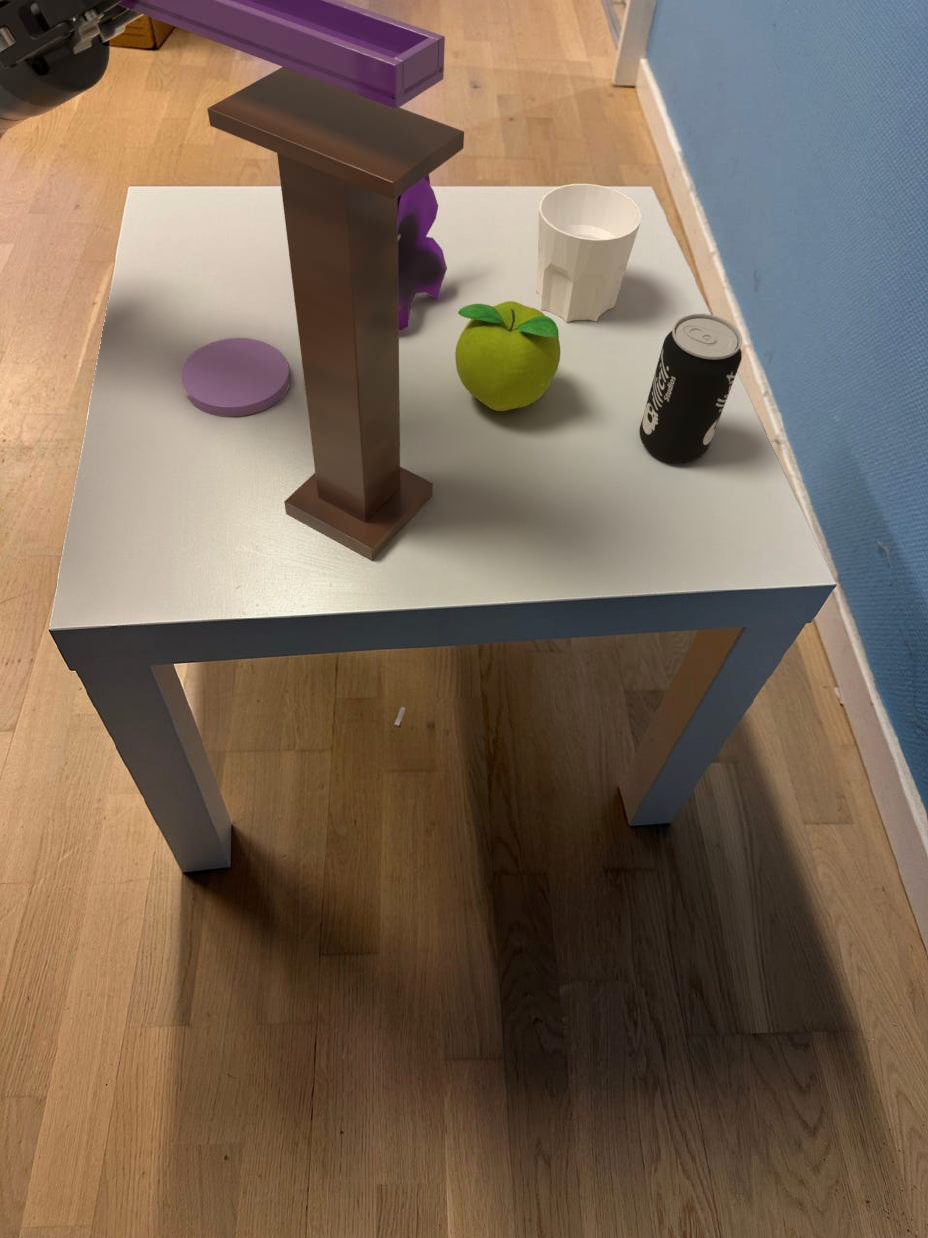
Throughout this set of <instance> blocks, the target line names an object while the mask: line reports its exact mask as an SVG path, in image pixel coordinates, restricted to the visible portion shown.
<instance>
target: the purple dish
mask: <svg viewBox="0 0 928 1238" xmlns="http://www.w3.org/2000/svg"><path fill="white" fill-rule="evenodd" d="M117 5H119V6H122V7H125V8H127V9H130V10H133V11H135V12H138V13H141V14H143V16H146V17H149V18H152V19H154V20H156V21H160V22H163V23H165V24H168V25H170V26H173V27H176V28H179V29H181V30H183V31H186V32H189V33H192V34H194V35H197V36H200V37H202V38H204V39H208V40H211V41H213V42H216V43H218V44H221V45H224V46H226V47H229V48H232V49H234V50H237V51H240V52H242V53H245V54H247V55H251V56H253V57H255V58H258V59H261V60H264V61H267V62H269V63H271V64H274V65H276V66H280V67H285V68H287V69H290V70H293V71H295V72H298V73H301V74H303V75H306V76H309V77H312V78H314V79H317V80H320V81H322V82H325V83H328V84H330V85H333V86H336V87H338V88H341V89H344V90H346V91H349V92H352V93H354V94H357V95H360V96H362V97H365V98H368V99H370V100H373V101H376V102H378V103H381V104H384V105H386V106H389V107H392V108H394V109H397V108H402V106H404V105H405V104H407V103H409V102H410V101H412V100H413V99H416V97H418V96H419V95H421V94H423V93H424V92H426V91H427V90H429V89H430V88H432V87H434V86H435V85H437V84H438V83H440V82H441V81H443V80H444V74H445V50H446V49H445V48H446V47H445V46H446V45H445V43H446V37H445V36H444V35H442V34H440V33H437V32H433V31H430V30H427V29H425V28H422V27H418V26H416V25H413V24H409V23H407V22H405V21H401V20H398V19H395V18H392V17H390V16H386V15H384V14H381V13H378V12H374V11H372V10H369V9H365V8H363V7H361V6H357V5H354V4H352V3H348V2H345V1H342V0H123V1H122V2H120V3H119V4H117Z"/></svg>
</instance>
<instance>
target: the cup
mask: <svg viewBox="0 0 928 1238" xmlns="http://www.w3.org/2000/svg"><path fill="white" fill-rule="evenodd" d="M641 212H642V211H641V210H640V208H639V206H638V205H637V203H636V202H635V201H634V200H633V199H632V198H631V197H629V196H628V195H626V194H625V193H623V192H621V191H618V190H616V189H614V188H612V187H607V186H603V185H599V184H593V183H592V184H591V183H571V184H565V185H561V186H558V187H556V188H553V189H551V190H550V191H548V192H547V193H545V194H544V195H543V196H542V197H541V199H540V201H539V205H538V230H537V232H538V235H537V237H538V238H537V239H538V240H537V248H538V249H537V251H538V252H537V263H536V264H537V267H536V284H535V285H536V286H535V292H536V293H537V294H538V295H539V296H540V298H541V306H540V311H546V312H549V313H552V314H554V315H556V316H557V317H560V318H562V320H564V322H565V323H570V322H572V321H592V322H598V321H599V317H600V316H602V314H604V313H605V312H606V311H608V310H611V309H614V308H615V306H616V303H617V299H618V296H619V293H620V289H621V287H622V283H623V280H624V276H625V272H626V270H627V266H628V263H629V259H630V257H631V253H632V250H633V247H634V243H635V241H636V238H637V234H638V231H639V228H640V225H641V222H642V213H641Z"/></svg>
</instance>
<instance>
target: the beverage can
mask: <svg viewBox="0 0 928 1238" xmlns="http://www.w3.org/2000/svg"><path fill="white" fill-rule="evenodd" d="M742 344H743V337H742V334H741V332H740V330H739V329H738V328H737V327H736V326H735V325H734V324H733V323H732V322H730V321H728V320H727V319H725V318H724V317H723V318H722V317H720V316H718V315H715V314H709V313H690V314H687V315H684V316H682V317H680V318H678V319H677V320H676V322H675V323H674V324H673V327H672V329H671V331H670V332H669V333H668V334H667V335H666V336H665V337H664V340H663V343H662V346H661V350H660V354H659V357H658V361H657V363H656V364H657V365H656V368H655V371H654V375H653V379H652V381H651V382H652V383H651V386H650V389H649V394H648V397H647V400H646V404H645V406H644V407H645V408H644V411H643V414H642V417H641V418H642V419H641V422H640V425H639V429H638V430H639V432H638V433H639V438H640V441H641V443H642V444H643V445H644V447H645V448H646V450H647V451H648V452H649V453H650V454H651V455H653V456H654V457H655V458H657V459H659V460H661V461H663V462H667V463H673V464H683V463H689V462H692V461H694V460H697V459H699V458H700V457H702V456H704V455H705V454H706V453H707V451H708V450H709V448H710V446H711V443H712V440H713V437H714V435H715V432H716V429H717V427H718V424H719V422H720V419H721V416H722V413H723V410H724V408H725V405H726V403H727V400H728V397H729V395H730V392H731V390H732V386H733V383H734V381H735V378H736V376H737V373H738V370H739V369H740V368H739V367H740V365H741V362H742V360H743V359H742V357H743V355H742V354H743V353H742V349H741V347H742Z"/></svg>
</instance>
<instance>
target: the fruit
mask: <svg viewBox="0 0 928 1238" xmlns="http://www.w3.org/2000/svg"><path fill="white" fill-rule="evenodd" d="M457 314H458V315H459V316H460V317H463V318H466V319H469V321H468V322H467V324H466V325H465V327H464V329H463V330H462V331H461V333H460V335H459V338H458V340H457V342H456V346H455V352H454V353H455V354H454V355H455V358H454V359H455V367H456V372H457V374H458V377H459V379H460V382H461V383H462V385H463V387H464V388H465V389H466V390H467V392H468V393H469V394H471V395H472V396H473V397H474V398H476V399H477V401H479V402H481V403H482V404H483V405H485V406H486V407H488V408H489V409H490V410H491V409H492V410H493V411H497V412H504V411H509V410H513V409H521V408H525V407H527V406H529V405H531V404H533V403H534V402H536V401H537V400H538V399H540V398H541V397H542V396H543V394H544V393H545V392H546V391H547V389H548V388H549V386H550V384H552V381H553V379H554V377H555V375H556V373H557V371H558V368H559V365H560V360H561V343H560V339H559V338H560V337H559V335H560V333H559V327H558V325H557V323H556V322H555V321H554V320H553V318H551V317H549V316H546V315H545V314H544V313H543V312H542V310H539V309H538V308H535V307H530V306H528V305H524V304H522V303H520V302H517V301H513V300H508V301H504V302H501V303H498V304H496V305H493V306H492V305H490V304H484V303H471V304H468V305H465V306H463V307H461V308H460V309H459V310H458V311H457Z"/></svg>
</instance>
